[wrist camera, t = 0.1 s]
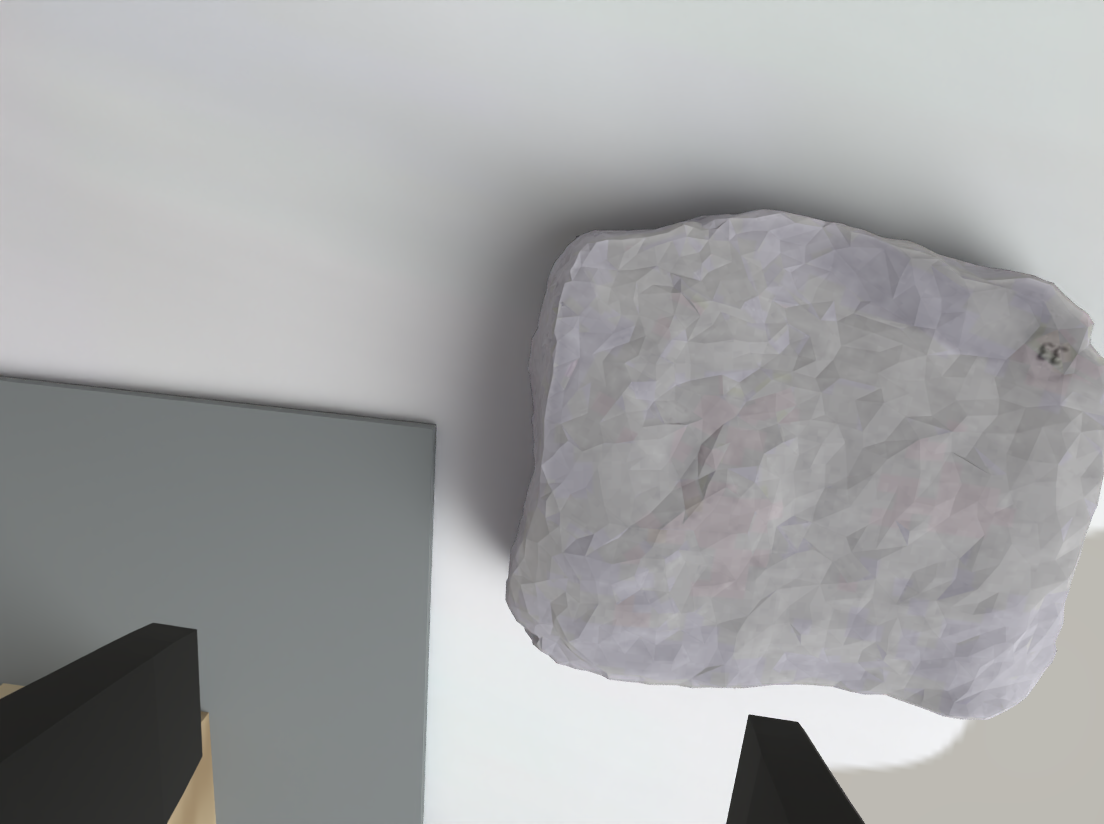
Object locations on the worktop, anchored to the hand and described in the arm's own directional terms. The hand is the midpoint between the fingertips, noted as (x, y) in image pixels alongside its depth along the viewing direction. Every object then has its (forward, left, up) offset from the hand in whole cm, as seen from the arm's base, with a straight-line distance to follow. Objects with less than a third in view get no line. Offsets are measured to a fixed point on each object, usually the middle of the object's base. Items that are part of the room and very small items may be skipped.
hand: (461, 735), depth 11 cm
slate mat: (-10, +11, -10) cm, 18 cm away
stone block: (+1, -5, -11) cm, 12 cm away
